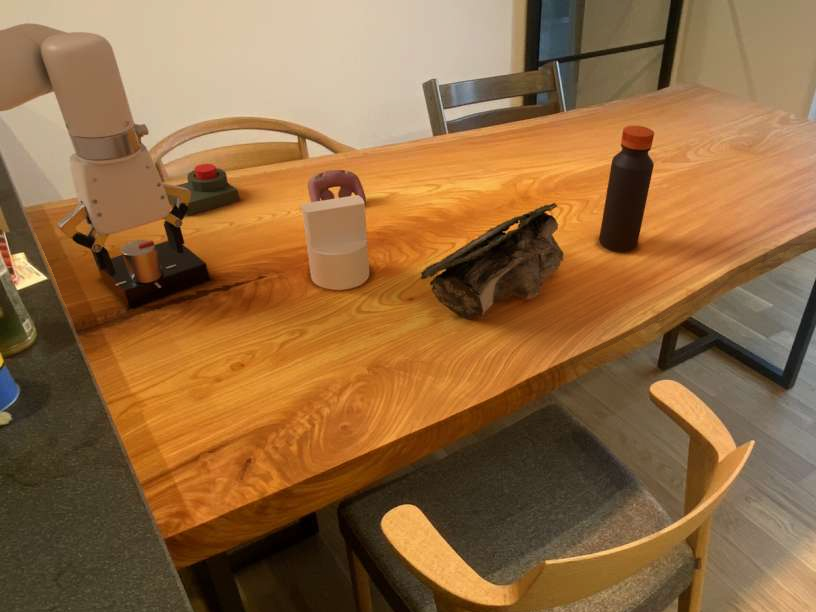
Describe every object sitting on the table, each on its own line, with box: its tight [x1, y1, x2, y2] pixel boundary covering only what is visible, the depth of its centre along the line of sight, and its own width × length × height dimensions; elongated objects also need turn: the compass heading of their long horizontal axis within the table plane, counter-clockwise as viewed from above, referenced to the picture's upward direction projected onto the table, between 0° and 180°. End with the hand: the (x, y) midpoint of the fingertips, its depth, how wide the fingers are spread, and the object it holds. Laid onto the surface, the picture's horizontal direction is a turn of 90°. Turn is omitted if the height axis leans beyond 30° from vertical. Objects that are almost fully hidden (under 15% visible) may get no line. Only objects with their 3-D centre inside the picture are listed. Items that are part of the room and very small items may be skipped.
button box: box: [167, 167, 240, 216], centre depth 125 cm, size 10×8×4 cm
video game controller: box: [307, 169, 367, 205], centre depth 126 cm, size 10×5×7 cm, turn 116°
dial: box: [120, 239, 163, 283], centre depth 98 cm, size 4×4×5 cm
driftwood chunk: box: [420, 202, 564, 320], centre depth 103 cm, size 28×13×15 cm
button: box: [193, 163, 217, 180], centre depth 125 cm, size 4×4×2 cm
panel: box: [97, 240, 211, 309], centre depth 103 cm, size 12×12×3 cm
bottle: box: [598, 125, 655, 253], centre depth 115 cm, size 7×7×20 cm
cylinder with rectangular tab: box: [301, 194, 370, 291], centre depth 105 cm, size 9×9×12 cm
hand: (144, 260), depth 98 cm, fingers open, 9 cm apart
